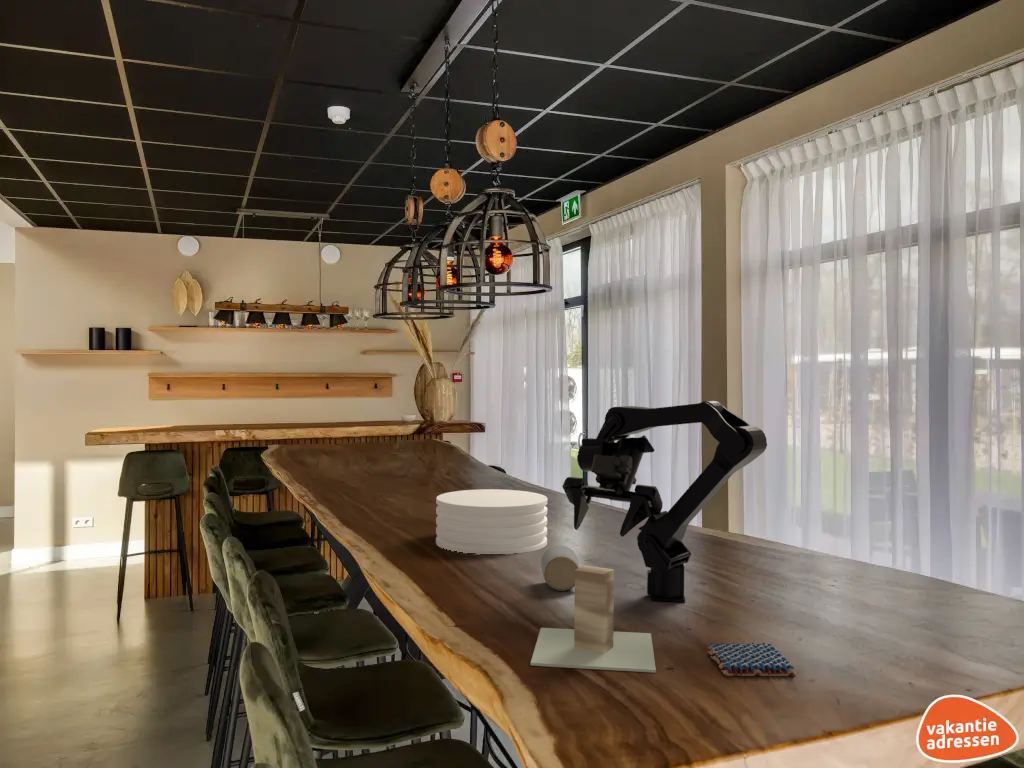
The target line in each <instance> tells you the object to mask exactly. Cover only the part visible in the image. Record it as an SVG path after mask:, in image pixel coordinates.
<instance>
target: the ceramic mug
mask: <svg viewBox="0 0 1024 768" xmlns="http://www.w3.org/2000/svg"><path fill="white" fill-rule="evenodd" d="M540 560H541V561H540V566H541V567H540V568H541V571H542V576H543V580H544V582H545V583H546V584H547V585H548V586H549V587H550V588H551V589H553V590H555V591H558V592H565V591H568V590H571V589H573V588H575V570H576V569H578V568H580V564H579V559H578V556H577V554H576V553H575V552H574V551H573V549H572V548H570V547H568V546H566V545H561V544H557V545H552V546H551V547H549V548H547V549H546V550H545V552H544V553H543V555H542V557H541V559H540Z"/></svg>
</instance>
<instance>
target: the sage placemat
mask: <svg viewBox="0 0 1024 768" xmlns="http://www.w3.org/2000/svg"><path fill="white" fill-rule="evenodd" d="M529 666H535V667H536V666H537V667H551V668H567V669H584V670H585V669H586V670H601V671H604V670H606V671H619V672H620V671H621V672H637V673H639V672H640V673H653V674H655V673H657V668H656V661H655V653H654V645H653V637H652V632H636V631H635V632H632V631H631V632H630V631H629V632H628V631H614V630H613V647H612V648H611V649H610V650H608V651H607V652H606V653H604V654H603V653H598V652H593V651H588V650H583V649H578V648H574V628H573V629H572V628H554V627H553V628H552V627H540V629H539V633H538V636H537V640H536V643H535V646H534V650H533V653H532V657H531V660H530V665H529Z"/></svg>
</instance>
